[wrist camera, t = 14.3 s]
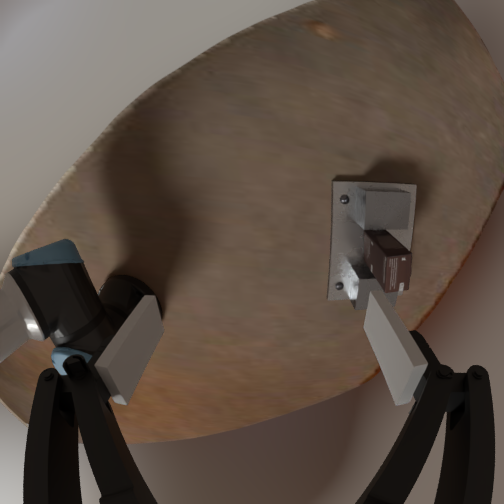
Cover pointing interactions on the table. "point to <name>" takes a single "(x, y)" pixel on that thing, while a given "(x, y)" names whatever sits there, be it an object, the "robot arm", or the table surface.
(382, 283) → the box
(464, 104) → the table surface
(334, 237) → the wall mount bracket
